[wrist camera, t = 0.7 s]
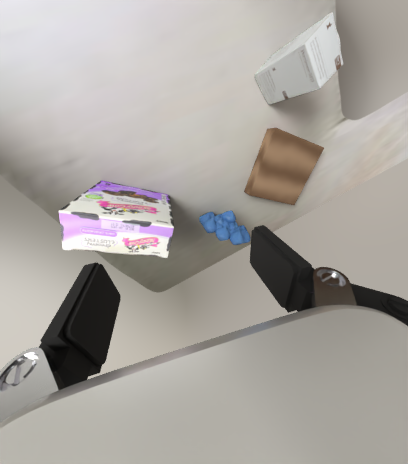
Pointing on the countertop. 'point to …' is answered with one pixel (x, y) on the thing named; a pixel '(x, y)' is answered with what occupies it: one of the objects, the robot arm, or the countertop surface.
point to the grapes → (225, 227)
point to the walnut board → (282, 166)
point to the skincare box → (302, 63)
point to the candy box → (118, 221)
